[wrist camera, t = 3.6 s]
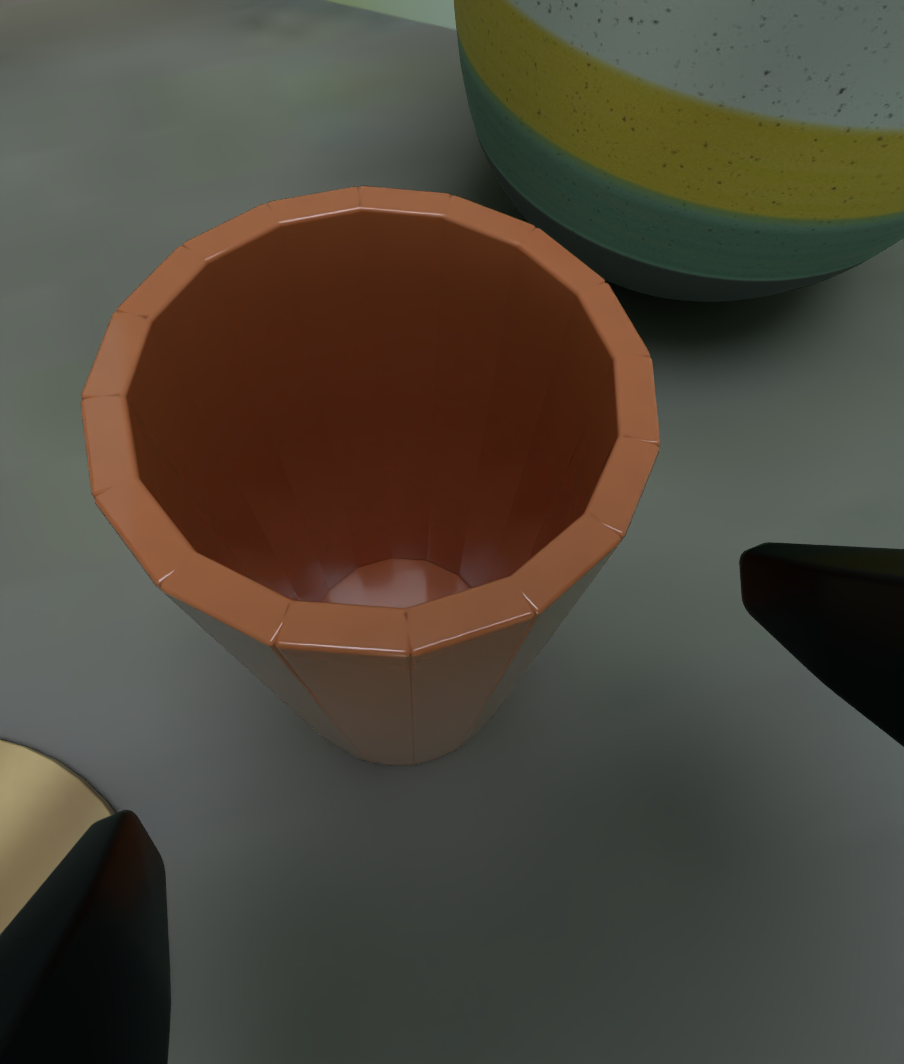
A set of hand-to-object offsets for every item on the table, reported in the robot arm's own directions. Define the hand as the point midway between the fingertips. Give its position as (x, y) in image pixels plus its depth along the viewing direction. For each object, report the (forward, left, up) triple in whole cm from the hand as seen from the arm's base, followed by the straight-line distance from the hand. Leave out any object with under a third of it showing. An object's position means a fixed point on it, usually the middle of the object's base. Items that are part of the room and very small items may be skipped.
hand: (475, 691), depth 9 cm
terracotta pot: (+3, -2, -10) cm, 11 cm away
